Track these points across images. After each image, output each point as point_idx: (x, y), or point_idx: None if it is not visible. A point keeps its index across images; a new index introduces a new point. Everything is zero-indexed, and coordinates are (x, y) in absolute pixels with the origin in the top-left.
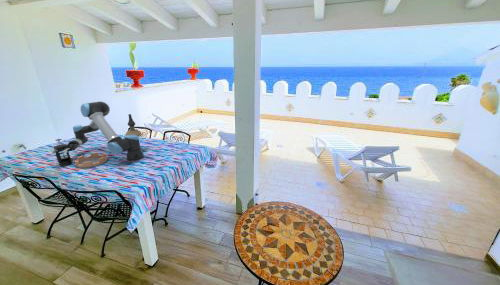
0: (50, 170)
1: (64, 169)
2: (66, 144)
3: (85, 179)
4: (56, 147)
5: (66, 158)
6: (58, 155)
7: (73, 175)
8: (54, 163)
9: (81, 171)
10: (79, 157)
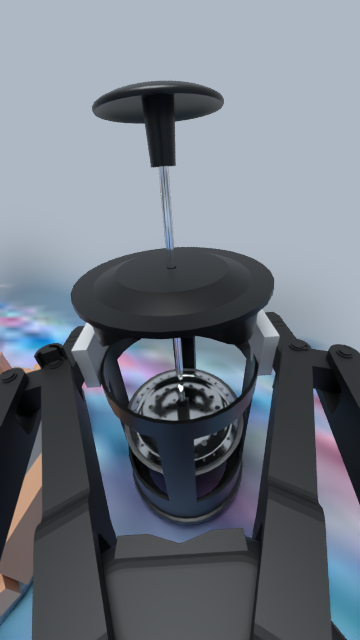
0: (218, 363)
1: (141, 373)
2: (96, 319)
3: (17, 310)
4: (184, 250)
5: (212, 496)
6: (188, 338)
7: (67, 327)
8: (336, 487)
9: None
10: (32, 468)
